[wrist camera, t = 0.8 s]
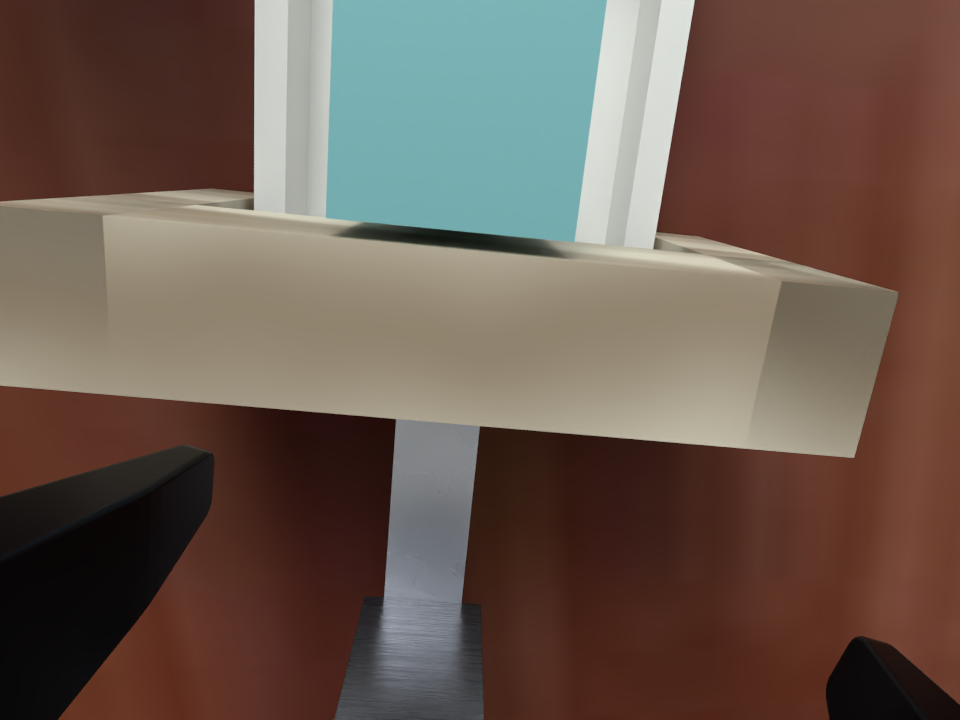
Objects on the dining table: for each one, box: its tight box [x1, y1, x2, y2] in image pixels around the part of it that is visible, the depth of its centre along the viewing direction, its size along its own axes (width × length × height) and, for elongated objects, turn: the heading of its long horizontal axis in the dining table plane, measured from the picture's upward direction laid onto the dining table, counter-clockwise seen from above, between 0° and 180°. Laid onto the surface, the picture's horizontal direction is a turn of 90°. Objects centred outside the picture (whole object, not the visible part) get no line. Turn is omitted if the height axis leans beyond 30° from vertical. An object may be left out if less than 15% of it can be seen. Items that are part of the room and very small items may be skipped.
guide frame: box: [0, 189, 899, 458], centre depth 16 cm, size 3×15×10 cm, turn 84°
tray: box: [254, 0, 695, 249], centre depth 18 cm, size 14×11×3 cm
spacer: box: [326, 0, 607, 242], centre depth 12 cm, size 4×4×4 cm
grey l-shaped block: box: [334, 419, 484, 720], centre depth 14 cm, size 18×3×8 cm, turn 174°
